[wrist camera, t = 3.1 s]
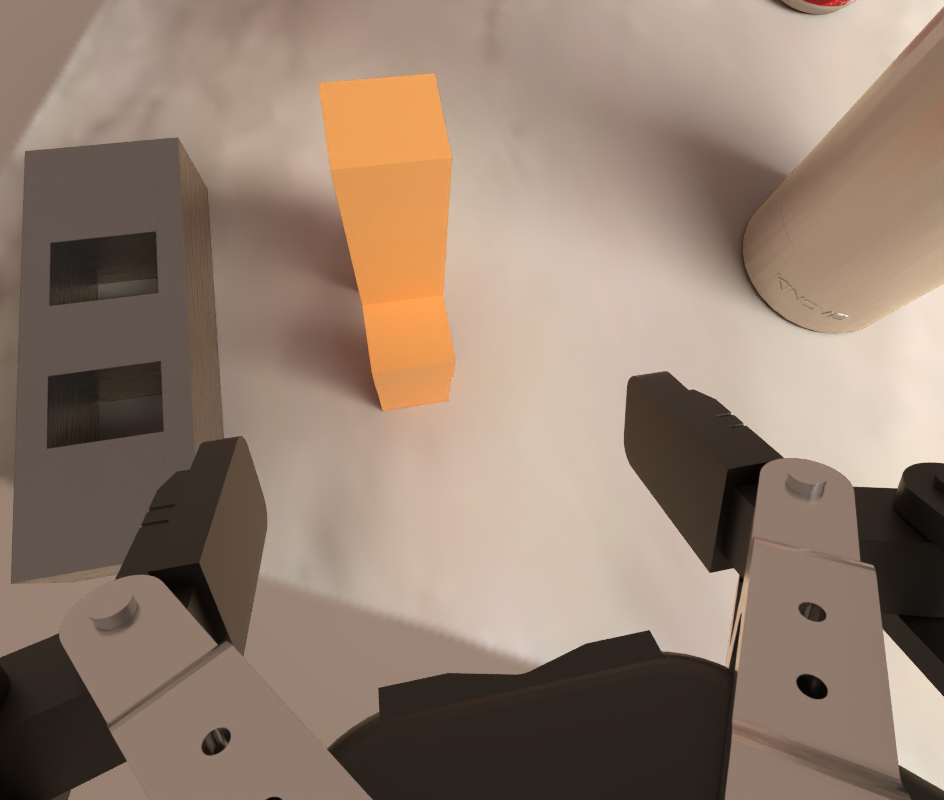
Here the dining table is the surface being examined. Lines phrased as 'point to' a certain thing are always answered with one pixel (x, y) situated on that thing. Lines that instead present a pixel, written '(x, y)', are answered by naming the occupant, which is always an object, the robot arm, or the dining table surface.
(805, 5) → the soda can
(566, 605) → the dining table surface
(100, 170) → the grey slotted bar
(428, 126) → the orange l-shaped step block
